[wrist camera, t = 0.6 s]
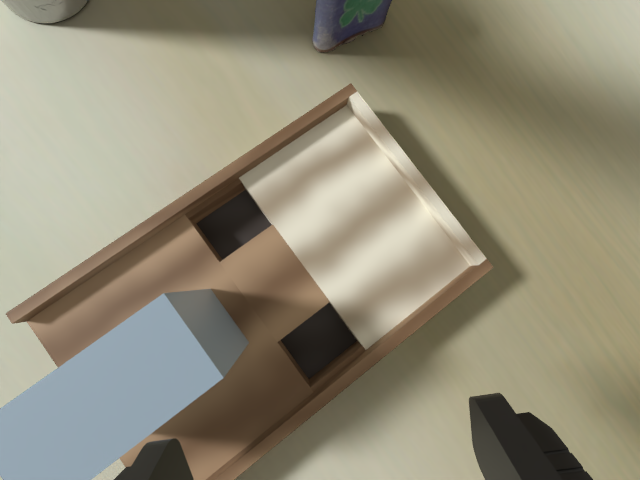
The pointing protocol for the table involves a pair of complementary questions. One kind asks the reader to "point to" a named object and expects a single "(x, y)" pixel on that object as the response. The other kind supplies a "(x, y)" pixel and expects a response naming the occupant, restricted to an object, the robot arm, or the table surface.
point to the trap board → (278, 277)
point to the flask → (346, 21)
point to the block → (119, 389)
